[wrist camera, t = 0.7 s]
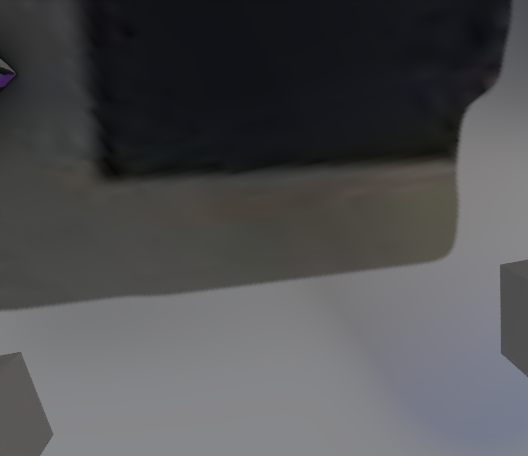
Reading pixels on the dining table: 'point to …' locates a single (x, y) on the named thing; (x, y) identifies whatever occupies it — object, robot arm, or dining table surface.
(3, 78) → the candy box
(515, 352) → the robot arm
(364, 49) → the dining table surface
